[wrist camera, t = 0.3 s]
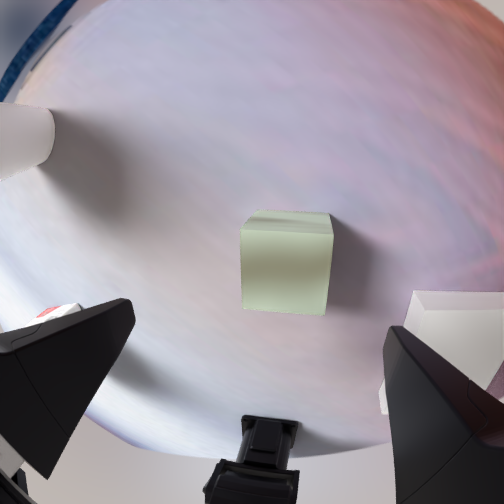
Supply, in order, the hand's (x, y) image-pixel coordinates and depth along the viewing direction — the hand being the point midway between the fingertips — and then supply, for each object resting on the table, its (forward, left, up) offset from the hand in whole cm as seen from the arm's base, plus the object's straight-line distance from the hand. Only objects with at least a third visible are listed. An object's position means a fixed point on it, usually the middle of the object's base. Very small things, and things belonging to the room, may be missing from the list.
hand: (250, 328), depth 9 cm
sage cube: (-1, 0, -12) cm, 12 cm away
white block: (-10, -16, -12) cm, 23 cm away
